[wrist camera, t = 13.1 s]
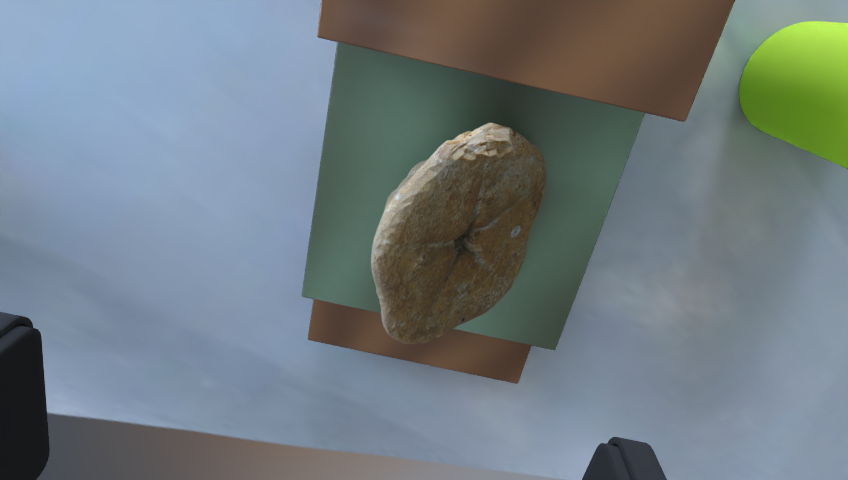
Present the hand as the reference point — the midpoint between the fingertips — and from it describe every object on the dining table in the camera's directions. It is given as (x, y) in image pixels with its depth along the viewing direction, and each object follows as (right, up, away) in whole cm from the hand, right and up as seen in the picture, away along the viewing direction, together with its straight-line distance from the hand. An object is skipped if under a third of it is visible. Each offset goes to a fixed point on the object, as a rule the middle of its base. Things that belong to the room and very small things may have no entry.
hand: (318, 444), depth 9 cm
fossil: (+4, +5, +17) cm, 18 cm away
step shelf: (+4, +8, +23) cm, 24 cm away
